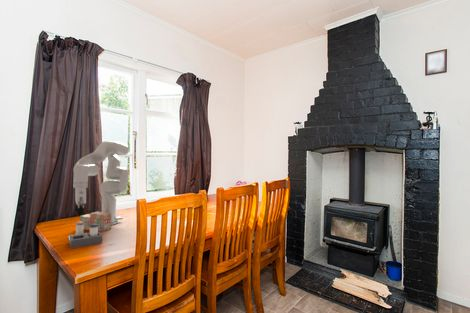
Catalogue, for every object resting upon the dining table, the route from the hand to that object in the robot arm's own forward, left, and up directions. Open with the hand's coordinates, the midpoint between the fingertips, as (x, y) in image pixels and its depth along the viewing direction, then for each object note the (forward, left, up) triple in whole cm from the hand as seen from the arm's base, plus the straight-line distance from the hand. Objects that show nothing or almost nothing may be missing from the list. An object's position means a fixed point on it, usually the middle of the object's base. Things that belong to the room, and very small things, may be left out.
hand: (79, 213), depth 150 cm
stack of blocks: (-11, -16, -17) cm, 25 cm away
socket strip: (-2, +13, -16) cm, 21 cm away
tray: (0, 0, -16) cm, 16 cm away
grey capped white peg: (-6, +13, -15) cm, 20 cm away
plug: (0, 0, -16) cm, 16 cm away
